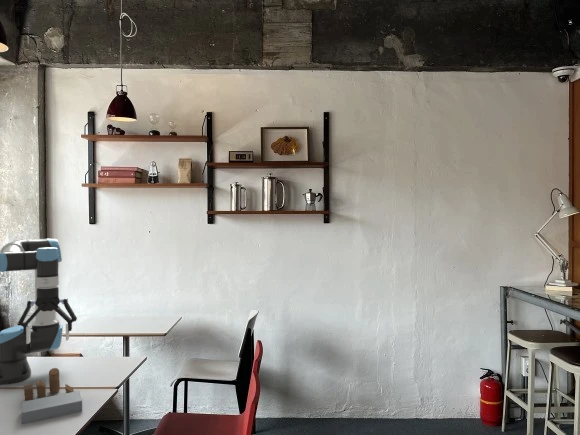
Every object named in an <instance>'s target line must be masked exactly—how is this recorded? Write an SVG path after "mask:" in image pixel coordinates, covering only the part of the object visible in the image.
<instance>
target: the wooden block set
mask: <svg viewBox="0 0 580 435" xmlns="http://www.w3.org/2000/svg"><path fill="white" fill-rule="evenodd" d="M48 380H49V382H48V383H49V386H48V388H49V392H50V393H51V394H55V393H59V391H60V389H61V387H60V386H61V385H60V369H58V367H53V368H50V369H49V371H48ZM33 385H34V384H33V383H30V384H25V385H23V392H24V394H23V395H24V401H29V400H34V399H35V398H34V386H33ZM70 392H75V391H74V387H72V386H70V385H69V384H66V383H65V393H70ZM46 393H47V392H46V382H44V381H43V380H37V381H36V394H37V398H42V397H45V396H46V397H47V394H46Z"/></svg>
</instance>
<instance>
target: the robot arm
mask: <svg viewBox="0 0 580 435" xmlns="http://www.w3.org/2000/svg"><path fill="white" fill-rule="evenodd" d="M62 261H63V259H62V249H61V246H60V241H59V240H58V239H56V238H32V239H31V238H28V239H27V238H26V239H18V240H14V241H11V242H8V243H6V244H5V245H3V246H2V248H1V249H0V273H4V272H17V271H19V272H21V271H32V270H33V271H34V295H35V296H34V299H35V300H32V299H28V301H27V302H26V307H25V309H24V310H23V313H22V314H21V316H20V318H19V320H18V322H17V326H10V327H8V328H5V329H3V330H1V331H0V385H7V384H8V385H9V384H15V383H19V382H21V381H24V380H27V379H29V378H30V377H31V376H32V369H31V366H30V364H29V361H28V354H34V353H35V354H36V353H42V352H47V351H48V352H50V351H53V350H58V349H59V348H60V347H61V345H62V344H61V343H62V338H63V329H64V328H63V326H64V325H63V324H62V323H60V321H59V320H58V318H56V315H57V314H58V315H59V316H60V317H61V318H62V319H63V320H64V321H65V322H66V323H65V341H69V339H70V332H71V331H72V330H73V323H74V322H76V321H77V320H78V318H77V316H76V314H75V312H74V311H73V308H72V307H71V306H70V304H69V300H68V298H67V297H65V298H61V299H60V297H59V296H60V295H59V291H60V290H59V289H60V288H59V287H58V286H59V284H60V283H59V282H60V281H59V263H61V262H62ZM60 303H61V304H62V305H63V306H64V309H65V310H66V311H67V313H66V312H65V311H64V310H63V309H61V307H60V306H59V304H60ZM33 306H35V307H34V308H35V310H34V312H33V313H31V315H30V316H29V318H27V319H26V317H27V315H28V314H29V312H30V310H31V308H32V307H33ZM56 313H57V314H56ZM68 314H69V315H68ZM25 319H26V321H25ZM32 320H34V321H33V322H32V324H30V323H31V321H32Z"/></svg>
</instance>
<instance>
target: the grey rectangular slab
mask: <svg viewBox="0 0 580 435" xmlns="http://www.w3.org/2000/svg"><path fill="white" fill-rule="evenodd" d="M21 404H22V405H21V407H22V408H21V424H28V423H32V421H33V422H36V421H41V420H45V419H51V418H55V417H59V416H65V415H68V414H69V415H70V414H73V413H74V414H75V413H78V412H83V398H82V395H81V391H80V390H77V391H76V390H75V391H74V392H70V393H66V392H65V393H61V394H57V395H56V394H54V395H51V396H46V397H45V396H43V397H38V398H34V399H33V400H29V401H25V400H24V401H22V403H21Z"/></svg>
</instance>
